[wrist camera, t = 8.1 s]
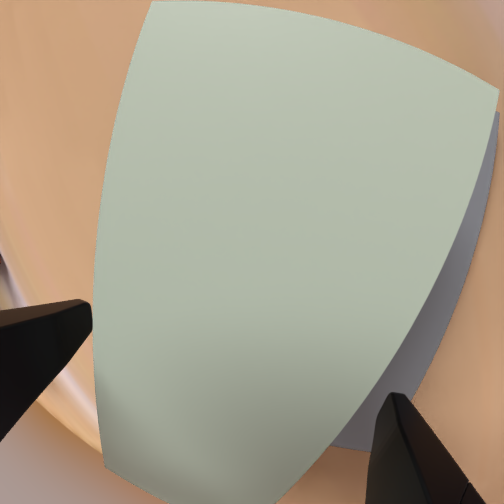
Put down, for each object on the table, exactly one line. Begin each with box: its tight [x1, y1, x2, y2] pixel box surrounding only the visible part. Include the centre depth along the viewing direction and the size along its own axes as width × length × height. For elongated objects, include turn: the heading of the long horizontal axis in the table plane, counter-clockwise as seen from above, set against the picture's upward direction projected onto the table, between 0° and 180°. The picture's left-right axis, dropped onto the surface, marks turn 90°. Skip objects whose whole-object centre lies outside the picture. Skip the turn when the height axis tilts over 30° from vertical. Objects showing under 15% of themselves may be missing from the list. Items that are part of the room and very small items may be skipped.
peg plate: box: [330, 111, 500, 452], centre depth 12 cm, size 16×18×4 cm
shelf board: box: [93, 1, 500, 504], centre depth 9 cm, size 6×16×4 cm, turn 163°
